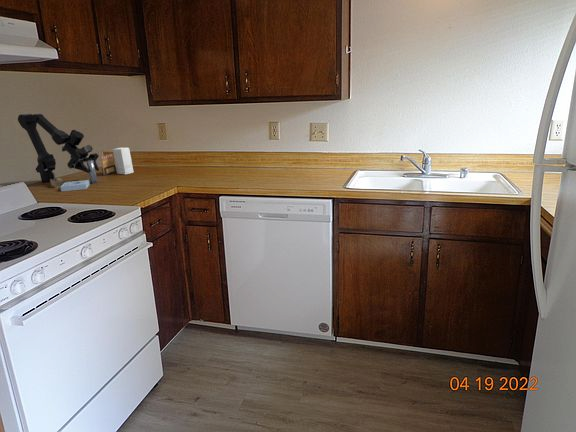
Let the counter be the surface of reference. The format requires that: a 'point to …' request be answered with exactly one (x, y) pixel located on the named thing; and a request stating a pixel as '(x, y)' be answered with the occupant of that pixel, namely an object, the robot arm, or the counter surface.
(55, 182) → the square bit
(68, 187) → the holder
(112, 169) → the brown flat upright board
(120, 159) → the skincare box
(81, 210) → the counter surface
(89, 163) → the round bit
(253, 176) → the counter surface
